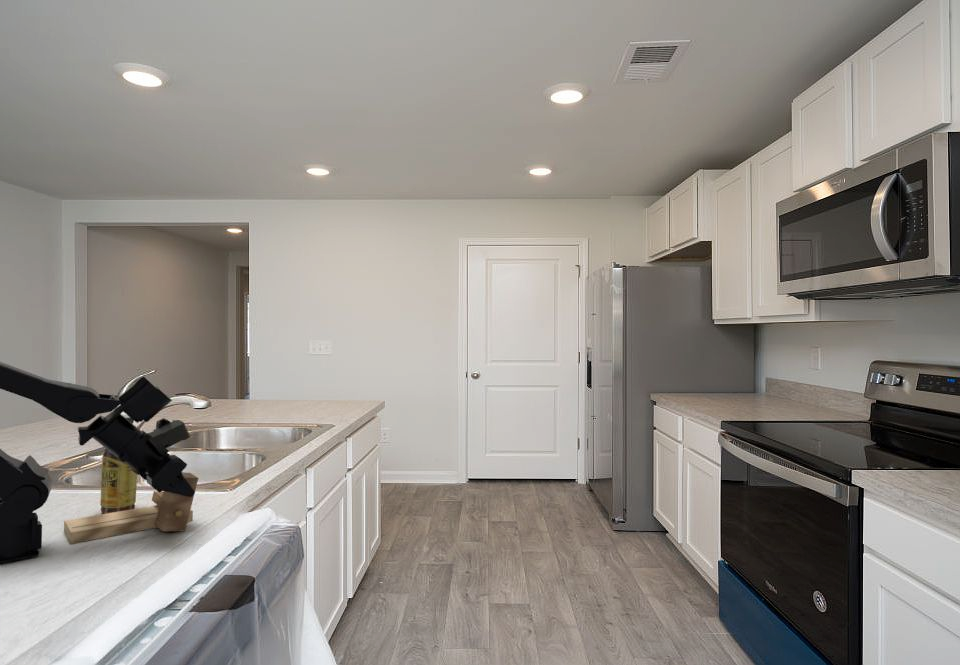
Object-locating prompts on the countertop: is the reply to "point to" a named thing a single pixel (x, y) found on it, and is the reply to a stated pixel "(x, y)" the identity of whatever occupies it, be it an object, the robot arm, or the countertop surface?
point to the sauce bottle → (117, 483)
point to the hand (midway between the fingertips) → (188, 491)
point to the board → (112, 524)
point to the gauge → (174, 507)
